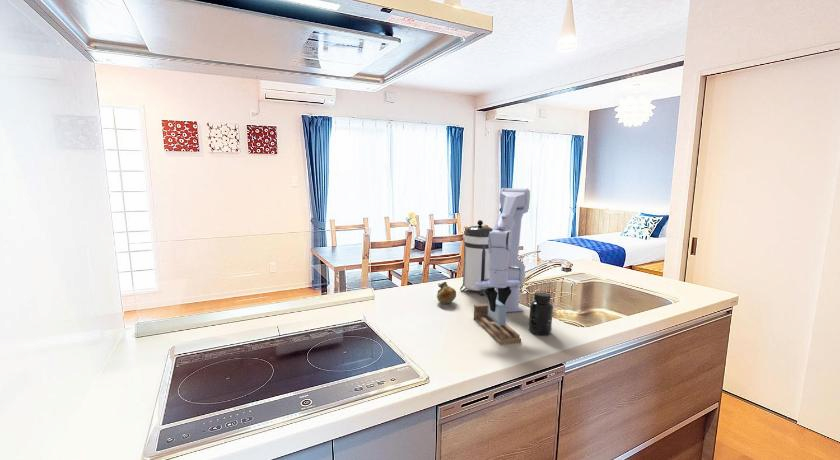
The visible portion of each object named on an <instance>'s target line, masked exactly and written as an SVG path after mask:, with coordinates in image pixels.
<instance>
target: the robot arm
mask: <svg viewBox="0 0 840 460" xmlns="http://www.w3.org/2000/svg"><path fill="white" fill-rule="evenodd" d="M530 201H531V191H530V190H529V188H514V187H513V188H508V187H507V188H506V187H502V188H501V189H500V192H499V204H500V206H501V209H502V212H501V214H499V215H498V216H497V218H496V220H495V224H494V226H493V228H492V229H493V231H492V232H491V231H490V233H489V237H488V246H489V253H490V264H489V280H488V281H483V282H475V289H476V290H480V289H484V290H485V291H484V293H485V294H486V296H487V301H488V300H489V304H490V310H491V311H492V312H495V308H496V299H497V300H498V301H500V302H501V303H503V304H504V305H505V306H506V313H514V312H524V308H522V307H520V306H519V305H520V291H521V287H522V286H524V284H525V278H526V266H525V263H524V262H522V261H521V260H520V258H519V249H520V239H521V227H522V226H521V225H522V219H523V216H524V214H526V213H528V212H529V209H530Z"/></svg>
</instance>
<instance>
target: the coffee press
mask: <svg viewBox="0 0 840 460" xmlns="http://www.w3.org/2000/svg"><path fill="white" fill-rule="evenodd" d="M483 224H484V221H483V220H481V219H480V220H478V221H477V225H471V226H468V227H467V228H466V229H465V231H464V233H463V235H462V238H464V240H463V241H464V242H463V243H464V244H463V245H464V250H463V271H462V273H463V274H462V276H463V277H462V285H461V287H460V288H459V290H460V291H461V292H465V291H466V290H469V291H476V292H479V294H480V296H484V297H485V294H486V292H485V290H484V289H480V290H476V289H475V282H483V281H488V280H489V264H490V253H489V246H488V237H489V233H490V231H491V232H492V231H493V229H494V228H493V227H490V226H485V225H483Z"/></svg>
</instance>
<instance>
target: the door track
mask: <svg viewBox="0 0 840 460" xmlns="http://www.w3.org/2000/svg"><path fill="white" fill-rule="evenodd" d="M487 314H488V303H479V304H474V305H473V320H474V321H475V322H476V323H477V324H479V326H480V327H481V328H482V329H483V330H485V332H486V333H488V335H489V336H490V337H491V338H492V339H493V340H494V341H495V342H497V343H498V345H503V344H514V343H521V342H522V338H521V337H520V334H519V333H517V332H516V330H514V329H513V328H512V327H511V326H510V325H508V324H507V323H506V325H501V326H499V325H498V324H497V323H496V322H495V321H493V320H492V319H491V318H490V317H489V316H488V315H487Z"/></svg>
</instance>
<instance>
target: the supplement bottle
mask: <svg viewBox="0 0 840 460" xmlns="http://www.w3.org/2000/svg"><path fill="white" fill-rule="evenodd" d="M551 299H552V297H551V294H550V293H547V292H534V297H533V300H532V301H531V303H530V304H529V305H530V307H529V318H528V331H529V332H531V333H533V334H536V335H539V336H542V335H543V336H547V335H549V334H551V332H552V323H553V322H552V321H553V313H554V306H553V304H552V303H551V301H552V300H551Z"/></svg>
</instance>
